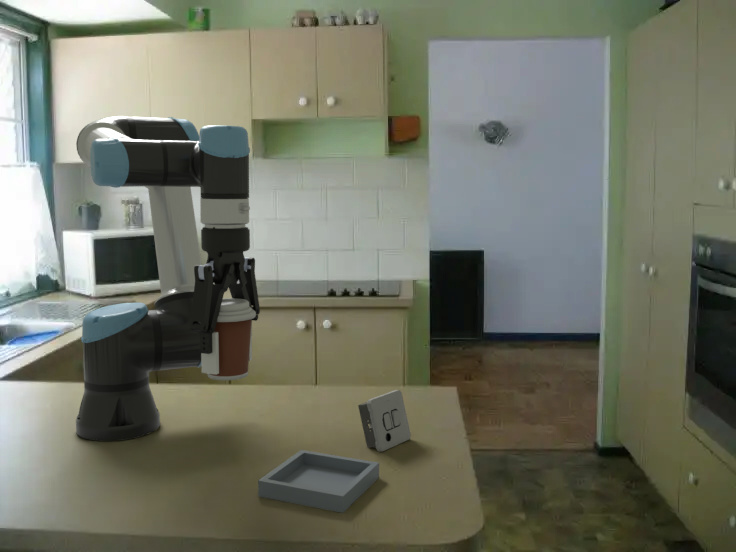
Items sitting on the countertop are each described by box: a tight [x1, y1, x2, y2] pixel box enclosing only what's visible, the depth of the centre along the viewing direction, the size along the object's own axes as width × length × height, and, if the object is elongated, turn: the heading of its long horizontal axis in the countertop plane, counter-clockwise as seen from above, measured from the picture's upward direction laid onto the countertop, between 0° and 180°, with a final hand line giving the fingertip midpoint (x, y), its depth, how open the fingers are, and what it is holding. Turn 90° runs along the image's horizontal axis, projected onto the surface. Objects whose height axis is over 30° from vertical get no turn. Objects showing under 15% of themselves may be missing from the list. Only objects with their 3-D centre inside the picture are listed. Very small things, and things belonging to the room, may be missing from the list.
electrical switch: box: [357, 389, 412, 453], centre depth 138 cm, size 9×5×9 cm, turn 141°
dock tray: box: [257, 449, 380, 514], centre depth 118 cm, size 14×14×2 cm
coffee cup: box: [206, 297, 256, 381], centre depth 122 cm, size 9×9×12 cm
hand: (227, 365), depth 122 cm, fingers closed on coffee cup, 9 cm apart
